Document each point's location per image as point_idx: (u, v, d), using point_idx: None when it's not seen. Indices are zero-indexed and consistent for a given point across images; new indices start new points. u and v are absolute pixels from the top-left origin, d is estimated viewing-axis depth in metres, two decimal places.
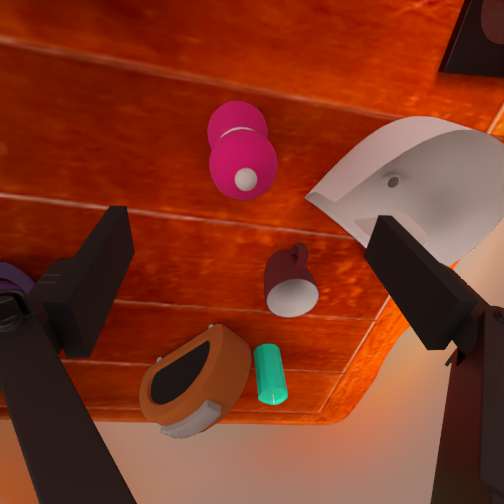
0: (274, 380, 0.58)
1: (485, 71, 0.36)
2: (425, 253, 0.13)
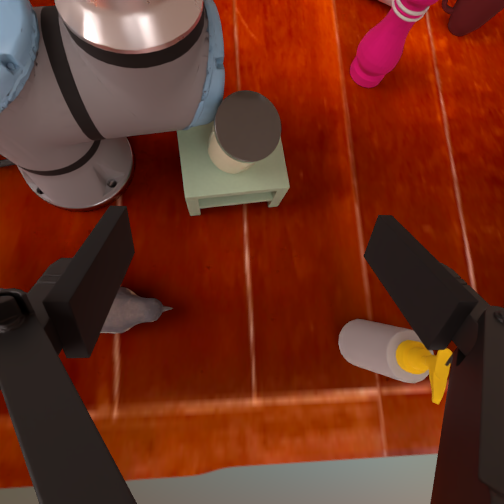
0: None
1: None
2: (425, 253, 0.13)
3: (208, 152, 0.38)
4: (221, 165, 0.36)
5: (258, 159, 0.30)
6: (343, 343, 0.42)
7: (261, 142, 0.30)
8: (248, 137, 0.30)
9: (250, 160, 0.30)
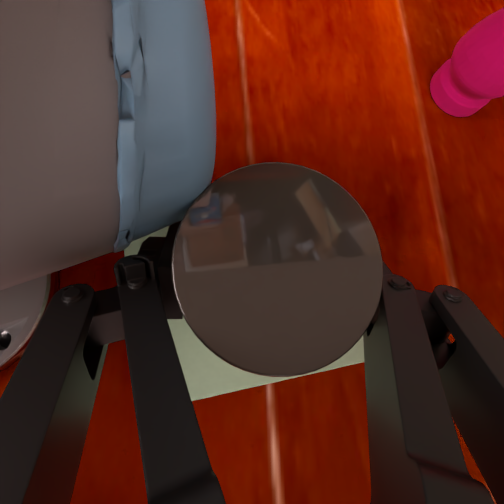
0: None
1: None
2: None
3: None
4: None
5: (322, 364, 0.09)
6: None
7: (326, 307, 0.09)
8: (282, 298, 0.09)
9: (295, 372, 0.09)
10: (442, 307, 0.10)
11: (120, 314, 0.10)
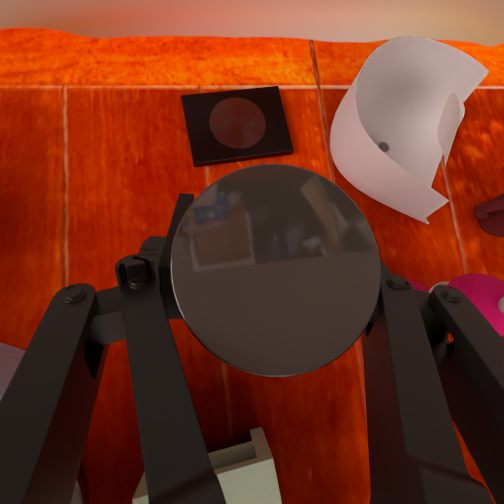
0: None
1: (282, 118, 0.45)
2: None
3: None
4: None
5: (319, 365, 0.09)
6: None
7: (323, 308, 0.09)
8: (279, 298, 0.09)
9: (292, 372, 0.09)
10: (441, 307, 0.10)
11: (121, 314, 0.10)
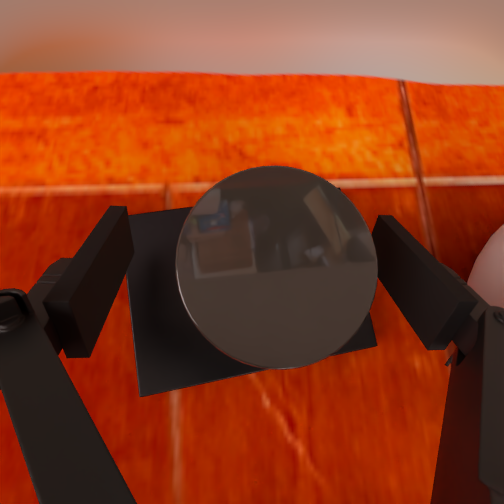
0: None
1: None
2: (425, 253, 0.13)
3: None
4: None
5: (318, 358, 0.10)
6: None
7: (322, 303, 0.10)
8: (280, 294, 0.10)
9: (293, 365, 0.09)
10: None
11: None
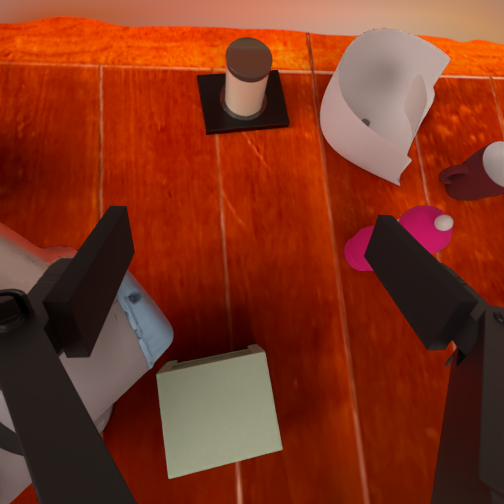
0: None
1: (281, 96, 0.53)
2: (425, 253, 0.13)
3: (225, 101, 0.52)
4: (234, 104, 0.49)
5: (257, 76, 0.43)
6: None
7: (258, 66, 0.44)
8: (249, 63, 0.43)
9: (251, 77, 0.43)
10: None
11: None
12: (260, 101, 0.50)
